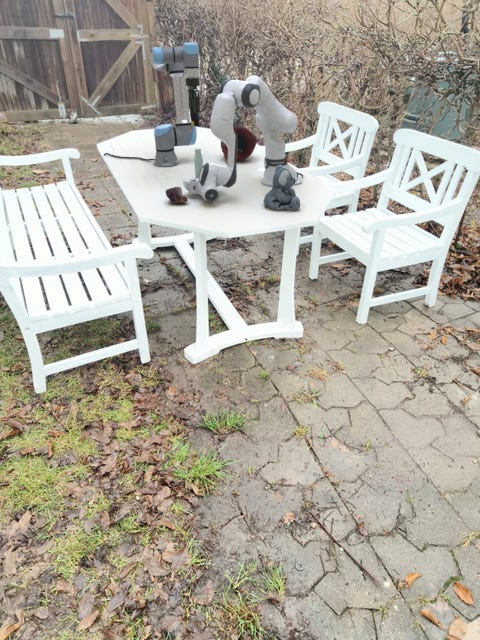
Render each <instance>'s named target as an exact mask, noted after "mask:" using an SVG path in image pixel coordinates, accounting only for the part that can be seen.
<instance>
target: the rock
mask: <svg viewBox="0 0 480 640" xmlns="http://www.w3.org/2000/svg"><path fill="white" fill-rule="evenodd" d="M165 196H166V197H167V199H169V202H171V203H172V204H185V203H187V202H188V197H187V196H186V195H184V194H183V190H182V187H180V186H174V187H169V188H168V189H166V190H165Z"/></svg>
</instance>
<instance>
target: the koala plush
mask: <svg viewBox="0 0 480 640" xmlns="http://www.w3.org/2000/svg"><path fill="white" fill-rule="evenodd" d="M293 184H294V185H296V184H295V179H294V178H293V176H292V174H291V173H290V172H289V170H288V169H286V168H284V167H283V166H282V165H278V166H276V169H275V174H274V177H273V186H271V189H270V190H269V191H268V192H267V193H266V194H265V195H264V198H263V205H264V206H265V207H267V208H270V209H272V210H274V211H275V210H276V211H298V210H300V209H301V200H300V198H299V196H297V193H296V191H295V188H294V187H293V186H294V185H293Z"/></svg>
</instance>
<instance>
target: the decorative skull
mask: <svg viewBox="0 0 480 640" xmlns="http://www.w3.org/2000/svg"><path fill="white" fill-rule="evenodd" d="M233 130H234V133H235V134H236V135H237V162H241V161H244V160H246V159H249V157H251V156H252V154H253V153H254V150H255V148H256V146H257V137H256V136H255V135H254V133H253V132H252V131H251V130H250V129H248V128H247V127H244V126H241V125H240V126H239V125H237V126H233ZM220 149H221V152H222V154H223V156H224V158H225V159H226V164H228V147H227V145H226V144H225V143H224V142H223V141H221V140H220Z"/></svg>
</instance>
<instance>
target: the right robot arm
mask: <svg viewBox="0 0 480 640" xmlns="http://www.w3.org/2000/svg"><path fill="white" fill-rule="evenodd" d="M238 107H240V108H241V107H242V108H245V109H252V108H254V109H255V111H256V114H255V124H256V126H257V127H258V128H259V129H260V131H261V133H262V136H263V140H264V146H265V148H264V149H265V151H264V152H265V153H264V161H263V168H258V172H261V171H263V177H262V180H261V183H262V184H263V185H266V186H270V187H273V177H274V174H275V169H276V166H278V165H282V166H283V167H284V168H286V169H288V170H289V172H290V173H291V174H292V176H293V178H294V179H295V184H293V186H294V185H299V184H301V182H302V179H300V178H299V176H300V177H302V178H304V175H303V173H300V172H298V171H297V170H296V169H295V168H294V167H292V166H291V165H290V163H291V162H292V159H291V158H289V157H287V156H286V141H285V140H284V139H283V138H282V137H281V134H280V133H282V134H289V133H293V132H295V131H296V129H297V127H298V126H299V125H298V124H299V118H298V115H297V114H296V113H294V112H293V111H291V110H289V109H288V108H287V107H286V106H284V104H282V103H281V102H280V101H279V100H278V99H277V98H276V97H275V96H274V93H273V92H272V91H271V90H270V88H269V86H268V85H267V84H266V83H265V81H264V80H263V78H261V77H260V76H258V75H251V76H249V77H247V78H246V80H245V81H244V80H238V79H232V78H231V79H225V80H224V81H223V82H222V83H221V85H220V87H219V94H218V95H216V98H215V99H214V102H213V106H212V110H211V115H210V121H209V129H210V131H211V133H212V134H213V136H214V137H216V138H217V139H218V140H220V142H221V141H223V142H224V143H225V144H226V145H227V147H228V164H227V163H226V164H227V165H221V164H217V163H210V162H205V164H203V167H202V168H201V170H200V173H199V178H195V177H192V178H185V179H183V180H182V187H183V188H184V189H185V190H186V191H188V194H193V195H200V197H201V198H202V199H203V200H204V201H206V202H209V203H212V202H215V201H216V200H218V198H219V195H220V194H219V190H218V187H220V186H221V187H224V188H228V189H229V188H231V187H233V186H234V185H235V184H236V183H237V178H238V173H237V164H238V163H237V162H238V161H237V135H236V134H235V133H234V130H233V127H234V121H235V115H236V110H237V108H238Z"/></svg>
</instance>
